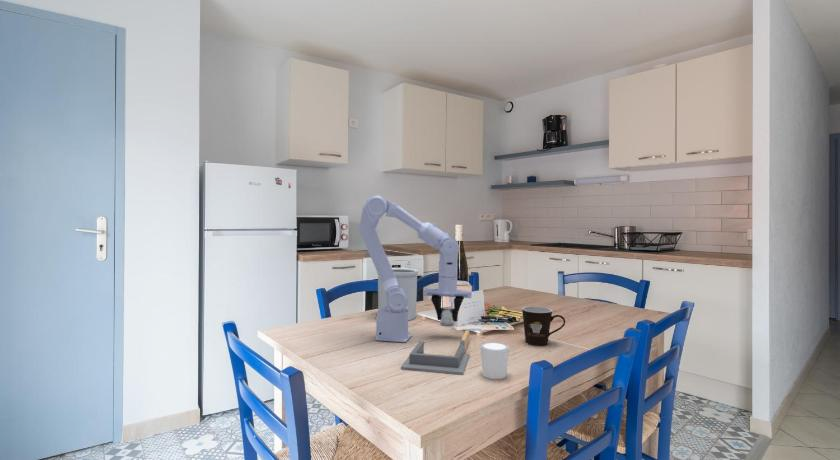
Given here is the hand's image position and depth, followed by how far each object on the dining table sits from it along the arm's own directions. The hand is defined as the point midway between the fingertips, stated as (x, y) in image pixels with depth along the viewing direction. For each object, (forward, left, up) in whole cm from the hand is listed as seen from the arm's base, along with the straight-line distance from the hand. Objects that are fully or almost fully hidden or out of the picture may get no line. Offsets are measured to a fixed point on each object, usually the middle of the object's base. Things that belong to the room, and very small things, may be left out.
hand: (447, 319), depth 135 cm
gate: (+7, -9, -5) cm, 13 cm away
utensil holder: (-22, +21, -6) cm, 31 cm away
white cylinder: (+16, -28, -6) cm, 33 cm away
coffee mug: (+28, 0, -6) cm, 29 cm away
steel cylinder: (0, 0, -2) cm, 2 cm away
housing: (+1, -23, -5) cm, 24 cm away
